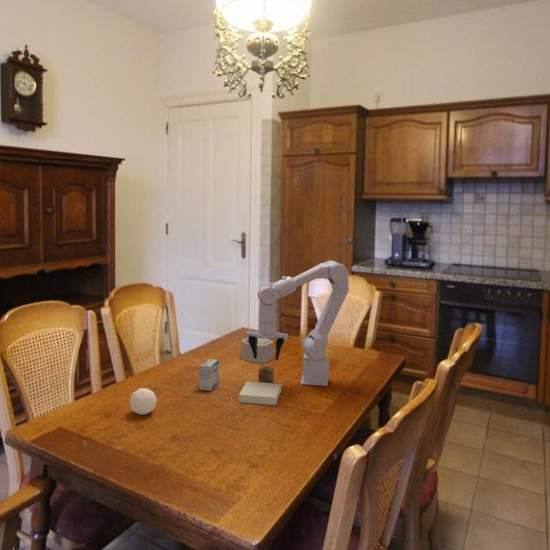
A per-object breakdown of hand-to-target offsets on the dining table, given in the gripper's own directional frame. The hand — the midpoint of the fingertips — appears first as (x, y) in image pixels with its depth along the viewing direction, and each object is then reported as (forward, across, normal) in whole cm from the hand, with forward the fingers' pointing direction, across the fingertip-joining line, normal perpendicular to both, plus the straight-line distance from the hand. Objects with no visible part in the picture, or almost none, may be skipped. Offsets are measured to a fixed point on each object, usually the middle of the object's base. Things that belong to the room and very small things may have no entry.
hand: (266, 358), depth 172 cm
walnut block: (+10, 0, 0) cm, 10 cm away
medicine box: (+10, -19, -6) cm, 22 cm away
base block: (+10, 0, -11) cm, 15 cm away
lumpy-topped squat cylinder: (+10, -9, +28) cm, 31 cm away
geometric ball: (+10, -32, -31) cm, 45 cm away
